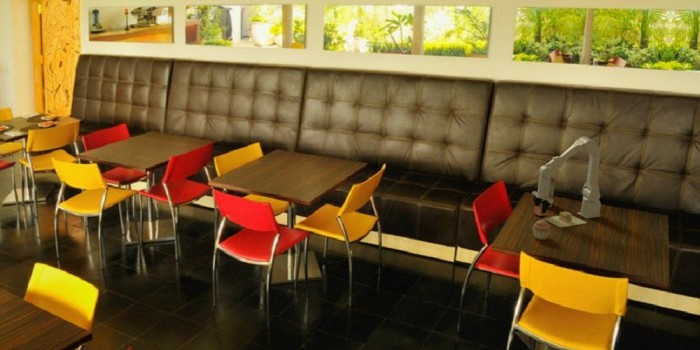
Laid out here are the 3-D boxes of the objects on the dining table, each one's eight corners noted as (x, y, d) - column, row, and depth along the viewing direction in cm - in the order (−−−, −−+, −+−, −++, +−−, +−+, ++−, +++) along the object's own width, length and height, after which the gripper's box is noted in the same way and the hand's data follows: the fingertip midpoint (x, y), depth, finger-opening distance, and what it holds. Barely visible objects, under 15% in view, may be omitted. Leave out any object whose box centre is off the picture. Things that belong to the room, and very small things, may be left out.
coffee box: (536, 201, 346) (539, 175, 341) (547, 201, 346) (551, 175, 341) (540, 207, 337) (544, 179, 332) (552, 207, 337) (556, 180, 332)
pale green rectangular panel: (569, 214, 326) (569, 214, 326) (587, 223, 315) (587, 222, 315) (543, 218, 319) (543, 217, 319) (560, 227, 308) (560, 226, 308)
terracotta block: (540, 212, 327) (541, 205, 326) (546, 215, 323) (547, 208, 322) (534, 213, 325) (534, 206, 324) (539, 216, 322) (540, 209, 320)
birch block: (565, 218, 320) (566, 211, 319) (571, 221, 316) (572, 214, 315) (558, 219, 318) (559, 212, 317) (564, 222, 314) (565, 215, 313)
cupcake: (533, 232, 301) (535, 213, 298) (552, 236, 296) (554, 217, 293) (528, 238, 293) (530, 219, 290) (547, 243, 289) (550, 223, 286)
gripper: (528, 184, 325) (525, 207, 329) (547, 192, 312) (543, 217, 316) (539, 183, 327) (536, 206, 331) (557, 191, 315) (554, 215, 319)
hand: (540, 211), depth 324 cm, fingers closed on terracotta block, 4 cm apart
